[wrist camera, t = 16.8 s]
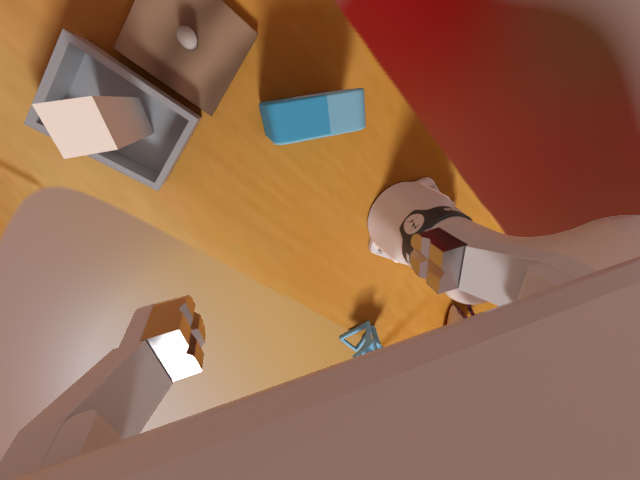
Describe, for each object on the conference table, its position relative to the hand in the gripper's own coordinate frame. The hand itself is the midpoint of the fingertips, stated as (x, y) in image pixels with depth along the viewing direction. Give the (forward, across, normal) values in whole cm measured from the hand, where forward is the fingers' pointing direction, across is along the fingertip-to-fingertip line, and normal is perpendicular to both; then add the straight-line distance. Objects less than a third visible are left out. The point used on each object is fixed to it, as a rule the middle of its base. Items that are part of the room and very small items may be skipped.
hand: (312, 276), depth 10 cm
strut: (+36, +14, -5) cm, 39 cm away
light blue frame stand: (+37, -16, +50) cm, 64 cm away
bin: (+37, +14, -5) cm, 40 cm away
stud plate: (+37, +4, -13) cm, 39 cm away
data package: (+37, -9, -3) cm, 38 cm away
